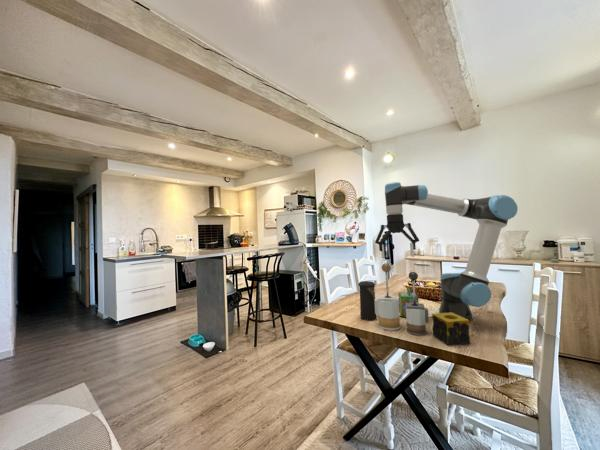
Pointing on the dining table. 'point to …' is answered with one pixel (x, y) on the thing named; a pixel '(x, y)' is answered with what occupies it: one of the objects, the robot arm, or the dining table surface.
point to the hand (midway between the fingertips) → (397, 257)
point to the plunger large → (386, 269)
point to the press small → (416, 319)
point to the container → (367, 300)
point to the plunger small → (413, 277)
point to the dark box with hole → (451, 328)
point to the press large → (388, 312)
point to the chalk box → (405, 301)
